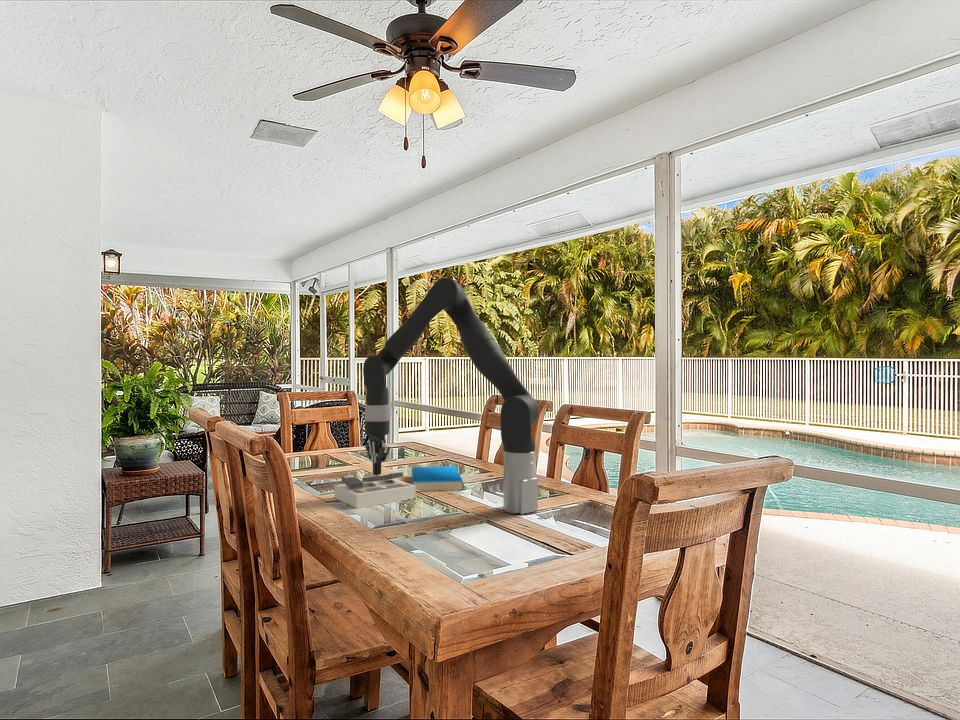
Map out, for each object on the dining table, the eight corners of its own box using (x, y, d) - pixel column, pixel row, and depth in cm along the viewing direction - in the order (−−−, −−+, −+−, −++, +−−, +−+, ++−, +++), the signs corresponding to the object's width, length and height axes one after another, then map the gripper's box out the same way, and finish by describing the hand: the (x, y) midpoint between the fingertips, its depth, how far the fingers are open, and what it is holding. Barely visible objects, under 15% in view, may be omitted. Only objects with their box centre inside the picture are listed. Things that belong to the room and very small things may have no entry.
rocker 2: (383, 480, 186) (383, 475, 187) (372, 481, 184) (371, 476, 184) (373, 480, 192) (373, 475, 192) (362, 482, 189) (361, 477, 190)
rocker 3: (403, 476, 191) (402, 471, 191) (392, 478, 188) (391, 473, 188) (393, 478, 196) (392, 474, 196) (382, 480, 194) (381, 475, 194)
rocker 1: (362, 487, 182) (363, 482, 182) (350, 488, 180) (351, 484, 180) (353, 479, 188) (353, 474, 188) (341, 480, 185) (341, 476, 185)
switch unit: (415, 498, 186) (415, 484, 186) (356, 508, 174) (356, 493, 174) (390, 489, 199) (390, 476, 199) (334, 497, 187) (334, 483, 187)
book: (412, 481, 196) (410, 466, 221) (412, 494, 196) (410, 477, 221) (464, 479, 198) (456, 464, 223) (464, 492, 198) (456, 476, 223)
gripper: (398, 420, 182) (397, 476, 183) (378, 416, 193) (377, 469, 193) (376, 421, 178) (375, 479, 178) (356, 417, 189) (356, 472, 189)
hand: (376, 474), depth 186 cm, fingers closed
